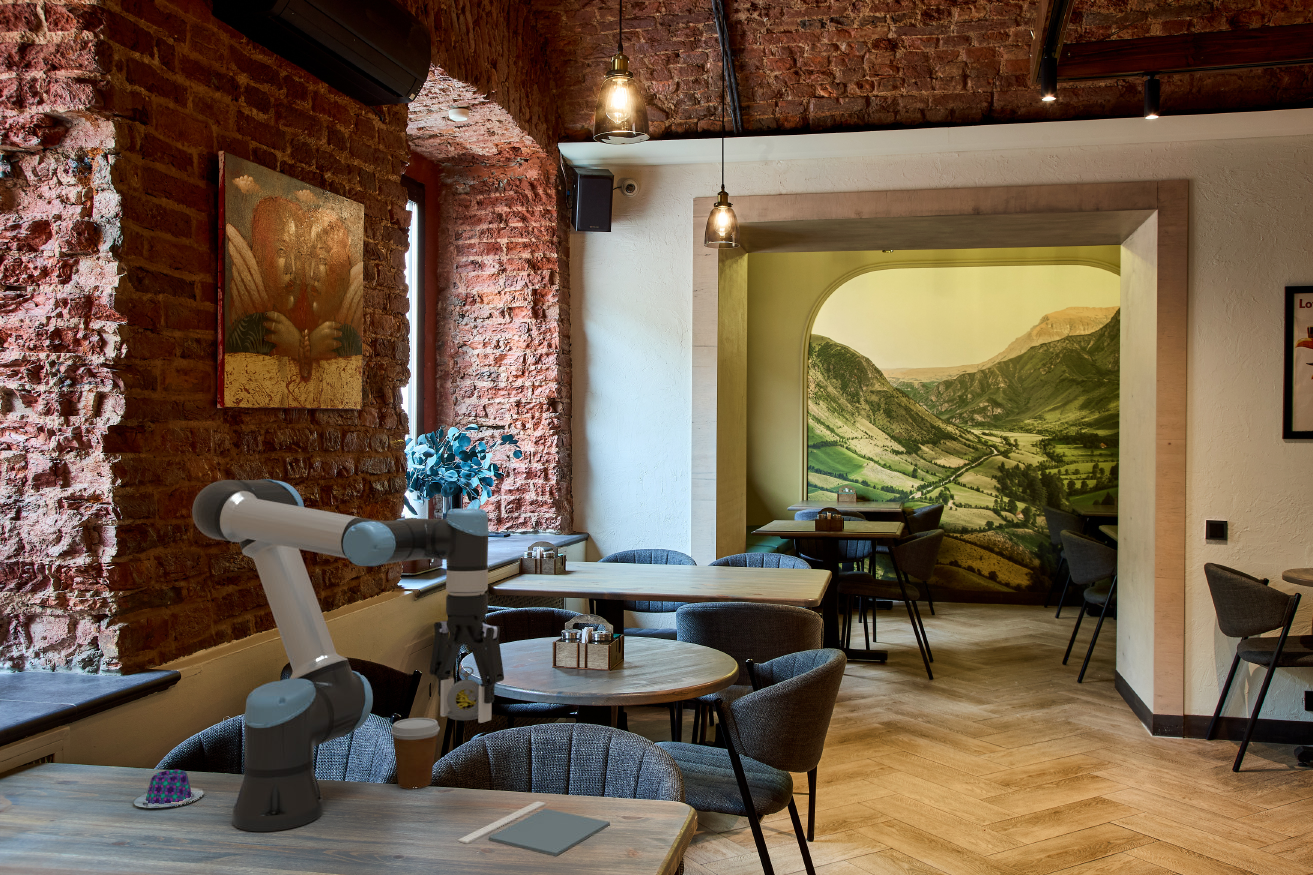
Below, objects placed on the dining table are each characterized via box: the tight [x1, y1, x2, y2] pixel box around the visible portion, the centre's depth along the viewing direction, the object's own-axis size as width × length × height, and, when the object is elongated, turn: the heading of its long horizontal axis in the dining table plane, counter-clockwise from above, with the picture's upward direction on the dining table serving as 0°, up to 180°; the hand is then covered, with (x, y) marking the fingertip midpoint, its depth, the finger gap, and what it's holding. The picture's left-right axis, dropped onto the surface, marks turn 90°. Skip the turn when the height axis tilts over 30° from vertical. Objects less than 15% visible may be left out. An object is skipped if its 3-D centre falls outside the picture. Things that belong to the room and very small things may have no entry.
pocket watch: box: [447, 666, 480, 722], centre depth 174 cm, size 8×8×10 cm
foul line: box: [457, 801, 547, 845], centre depth 169 cm, size 2×22×1 cm, turn 151°
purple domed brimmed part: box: [145, 769, 205, 807], centre depth 181 cm, size 12×12×5 cm
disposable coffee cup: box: [390, 717, 441, 790], centre depth 190 cm, size 10×10×12 cm
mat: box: [487, 808, 611, 857], centre depth 164 cm, size 14×16×1 cm
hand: (465, 717), depth 174 cm, fingers closed on pocket watch, 8 cm apart
